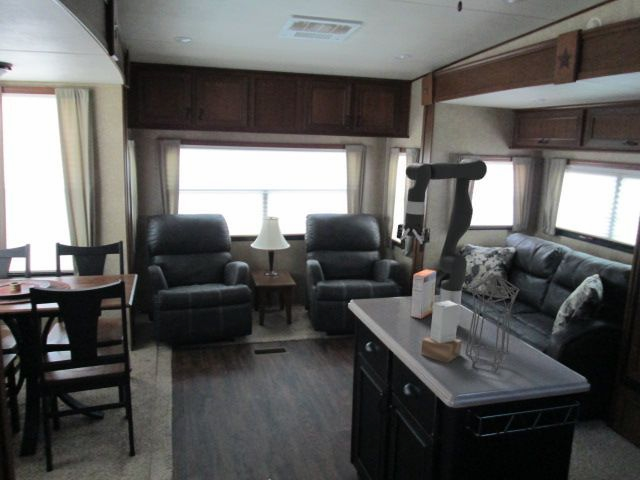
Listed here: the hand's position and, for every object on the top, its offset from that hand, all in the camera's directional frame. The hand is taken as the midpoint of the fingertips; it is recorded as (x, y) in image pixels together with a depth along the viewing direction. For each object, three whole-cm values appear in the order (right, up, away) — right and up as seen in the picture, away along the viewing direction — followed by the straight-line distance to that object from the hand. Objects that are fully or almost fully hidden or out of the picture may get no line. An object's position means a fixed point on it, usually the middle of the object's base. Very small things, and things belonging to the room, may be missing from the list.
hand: (411, 250), depth 219 cm
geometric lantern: (+23, -43, -24) cm, 54 cm away
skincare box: (+9, -34, -16) cm, 39 cm away
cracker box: (+11, -31, +34) cm, 47 cm away
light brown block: (+9, -40, -15) cm, 43 cm away
